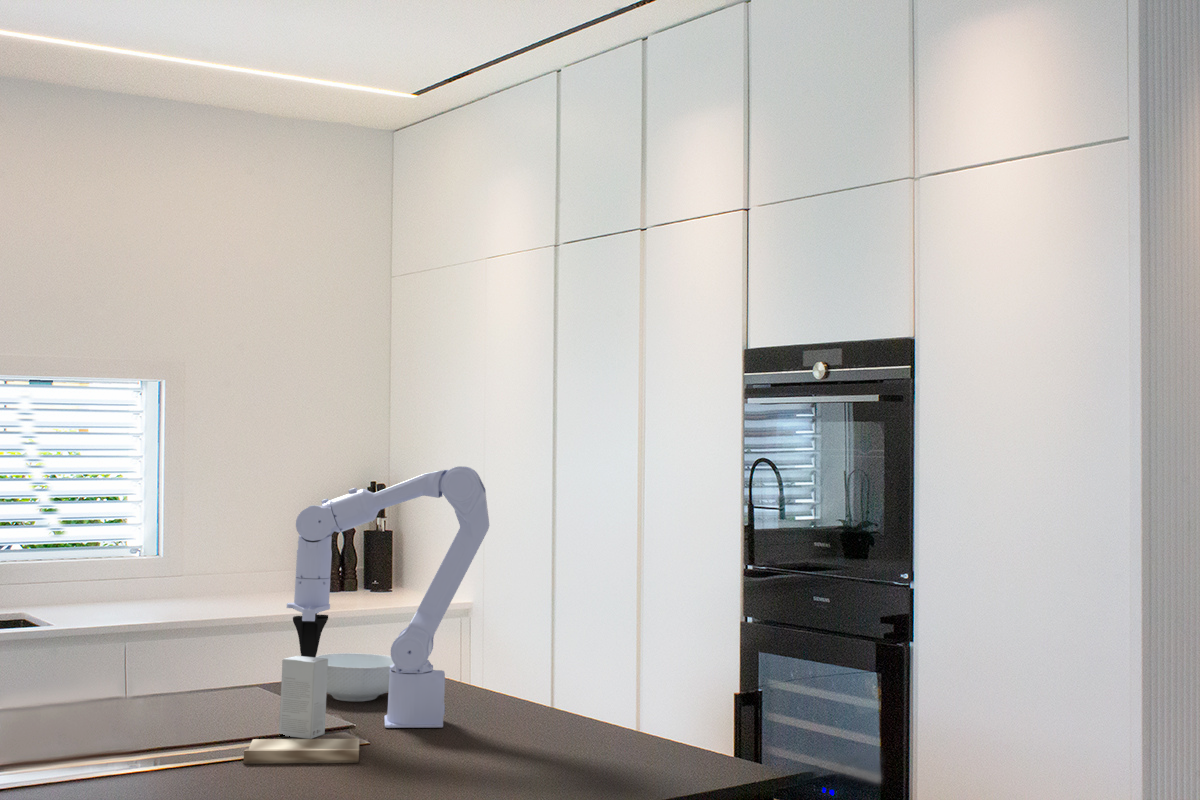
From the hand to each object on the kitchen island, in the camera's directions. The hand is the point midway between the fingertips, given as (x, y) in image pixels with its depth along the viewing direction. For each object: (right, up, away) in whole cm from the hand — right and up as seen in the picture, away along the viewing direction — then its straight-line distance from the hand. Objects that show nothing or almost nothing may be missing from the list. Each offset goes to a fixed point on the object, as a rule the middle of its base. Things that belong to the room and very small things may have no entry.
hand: (308, 659), depth 193 cm
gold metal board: (+5, -9, -21) cm, 24 cm away
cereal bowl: (+4, -12, +20) cm, 24 cm away
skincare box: (+2, -10, -11) cm, 15 cm away
